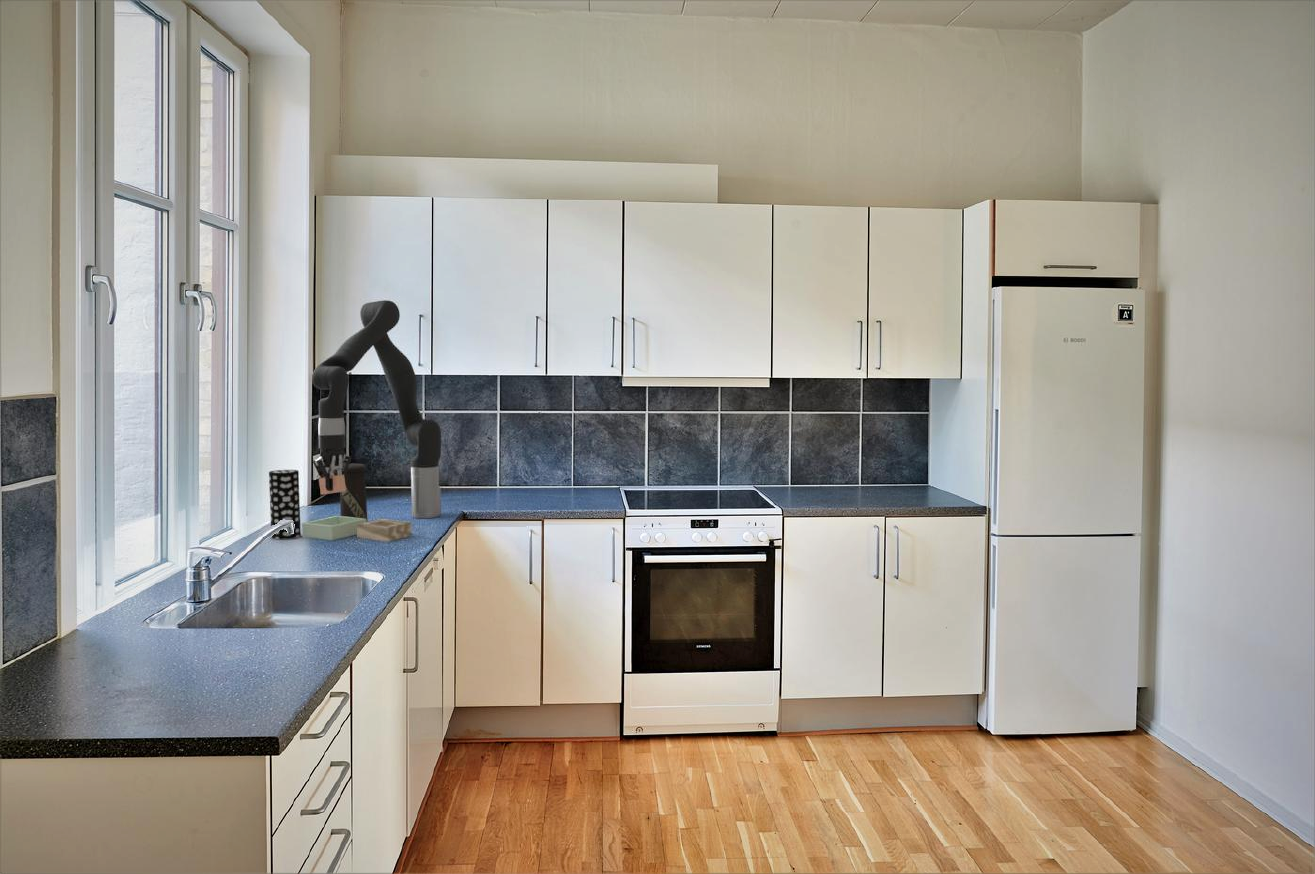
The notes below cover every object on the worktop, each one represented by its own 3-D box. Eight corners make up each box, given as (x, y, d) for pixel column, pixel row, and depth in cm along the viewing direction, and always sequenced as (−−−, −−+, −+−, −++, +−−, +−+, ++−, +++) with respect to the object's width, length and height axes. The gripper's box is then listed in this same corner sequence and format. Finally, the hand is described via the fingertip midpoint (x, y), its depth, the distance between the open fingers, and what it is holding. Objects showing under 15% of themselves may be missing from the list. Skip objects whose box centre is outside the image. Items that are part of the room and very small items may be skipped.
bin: (337, 531, 287) (337, 515, 287) (366, 534, 282) (366, 518, 282) (302, 539, 275) (302, 523, 274) (332, 543, 270) (331, 526, 269)
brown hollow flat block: (381, 534, 282) (380, 517, 282) (411, 538, 277) (411, 521, 276) (357, 540, 273) (356, 523, 273) (388, 544, 268) (387, 526, 267)
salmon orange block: (324, 477, 280) (343, 474, 276) (327, 493, 280) (346, 491, 276) (318, 478, 278) (337, 475, 274) (320, 494, 278) (340, 492, 274)
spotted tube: (306, 534, 282) (304, 470, 280) (288, 540, 274) (286, 473, 272) (283, 533, 284) (281, 469, 282) (265, 538, 276) (262, 472, 275)
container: (334, 526, 296) (332, 464, 294) (350, 521, 304) (348, 461, 302) (358, 527, 294) (356, 465, 292) (373, 522, 302) (371, 462, 300)
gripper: (339, 430, 283) (341, 486, 285) (304, 434, 271) (306, 492, 273) (358, 431, 280) (359, 487, 282) (323, 435, 268) (324, 493, 269)
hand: (333, 489), depth 277 cm, fingers closed on salmon orange block, 2 cm apart
